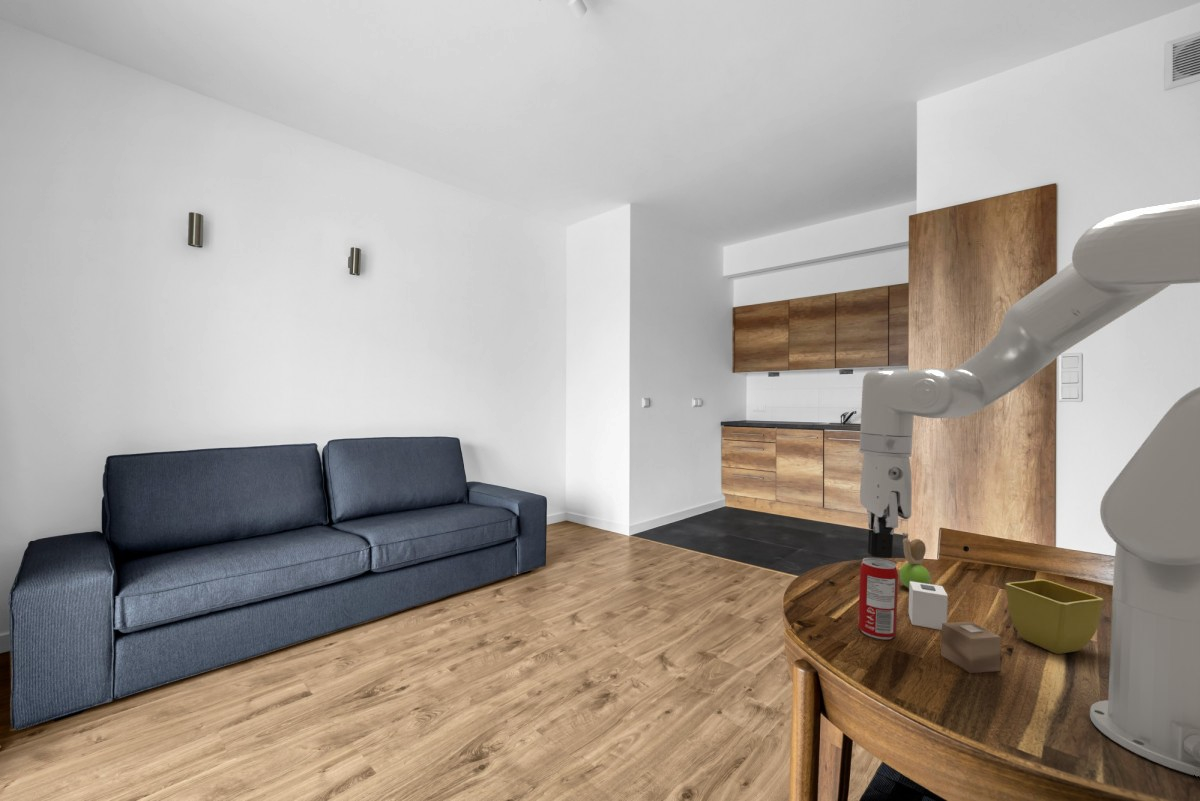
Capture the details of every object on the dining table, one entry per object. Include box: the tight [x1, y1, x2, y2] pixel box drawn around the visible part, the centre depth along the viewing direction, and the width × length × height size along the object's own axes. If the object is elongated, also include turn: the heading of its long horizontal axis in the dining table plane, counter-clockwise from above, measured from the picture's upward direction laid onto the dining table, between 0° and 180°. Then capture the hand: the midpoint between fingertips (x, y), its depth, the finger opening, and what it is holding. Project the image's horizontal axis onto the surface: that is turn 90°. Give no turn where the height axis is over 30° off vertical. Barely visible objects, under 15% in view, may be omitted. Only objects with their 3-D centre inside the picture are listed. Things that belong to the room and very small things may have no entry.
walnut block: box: [940, 621, 1002, 674], centre depth 75 cm, size 5×5×5 cm
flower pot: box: [1005, 578, 1104, 655], centre depth 81 cm, size 9×9×9 cm
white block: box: [908, 581, 949, 631], centre depth 89 cm, size 5×5×6 cm
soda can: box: [857, 557, 899, 641], centre depth 84 cm, size 6×6×12 cm
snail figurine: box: [898, 532, 932, 589], centre depth 104 cm, size 5×6×12 cm
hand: (879, 555), depth 84 cm, fingers closed
